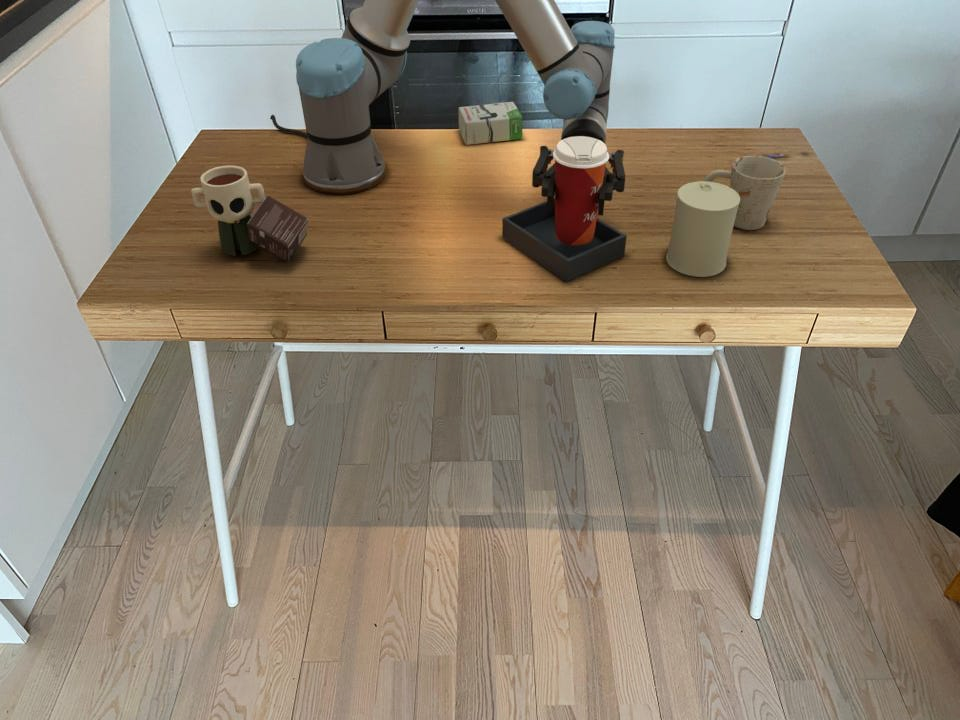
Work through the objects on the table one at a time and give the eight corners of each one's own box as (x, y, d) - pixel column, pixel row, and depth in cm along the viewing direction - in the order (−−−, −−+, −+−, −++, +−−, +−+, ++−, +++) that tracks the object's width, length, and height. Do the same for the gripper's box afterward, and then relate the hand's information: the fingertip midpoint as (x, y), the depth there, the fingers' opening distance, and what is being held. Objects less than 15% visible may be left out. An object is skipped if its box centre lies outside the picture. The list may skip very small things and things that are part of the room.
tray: (502, 238, 128) (502, 218, 126) (558, 215, 133) (559, 195, 131) (566, 282, 118) (568, 261, 115) (624, 256, 123) (626, 235, 121)
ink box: (523, 116, 154) (464, 123, 152) (523, 139, 157) (465, 146, 155) (512, 100, 160) (456, 106, 159) (513, 122, 163) (457, 129, 162)
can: (719, 245, 125) (733, 178, 118) (731, 277, 118) (748, 207, 111) (662, 245, 126) (672, 177, 118) (671, 277, 119) (683, 207, 111)
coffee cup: (603, 249, 119) (613, 159, 109) (549, 249, 119) (554, 158, 109) (597, 221, 125) (607, 133, 115) (547, 221, 125) (551, 133, 115)
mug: (769, 237, 127) (784, 182, 121) (692, 225, 130) (702, 170, 124) (773, 213, 133) (787, 159, 127) (699, 202, 136) (709, 149, 130)
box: (289, 263, 124) (248, 240, 123) (308, 234, 126) (268, 211, 125) (289, 247, 118) (246, 223, 117) (309, 217, 120) (267, 193, 119)
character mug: (204, 263, 123) (183, 189, 115) (210, 239, 128) (190, 167, 120) (274, 257, 124) (258, 183, 116) (276, 234, 129) (261, 162, 121)
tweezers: (802, 151, 151) (802, 155, 151) (746, 154, 149) (746, 159, 149) (807, 152, 149) (807, 156, 150) (751, 155, 147) (750, 160, 148)
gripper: (640, 163, 131) (640, 232, 114) (524, 157, 134) (507, 223, 117) (645, 120, 127) (646, 186, 109) (525, 115, 129) (508, 178, 112)
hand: (575, 205), depth 113 cm, fingers closed on coffee cup, 7 cm apart
